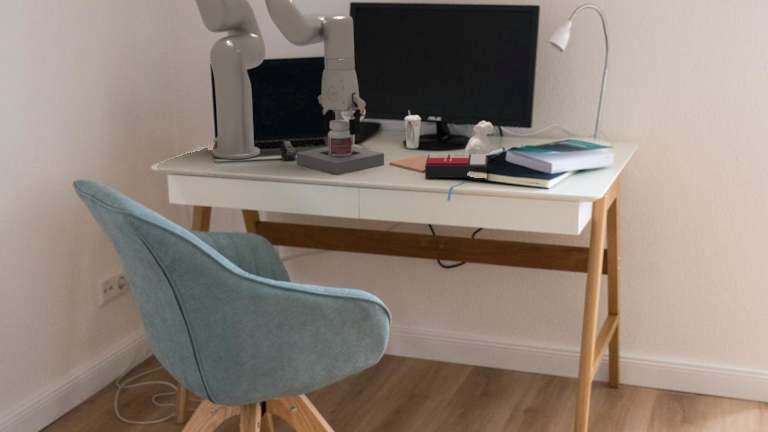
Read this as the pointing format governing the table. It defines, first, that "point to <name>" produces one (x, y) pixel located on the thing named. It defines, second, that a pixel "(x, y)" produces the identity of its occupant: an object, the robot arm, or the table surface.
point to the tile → (412, 163)
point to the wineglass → (347, 117)
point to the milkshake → (412, 130)
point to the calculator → (454, 164)
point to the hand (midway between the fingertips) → (342, 131)
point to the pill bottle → (339, 139)
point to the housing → (340, 160)
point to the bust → (480, 139)
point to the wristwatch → (287, 151)
